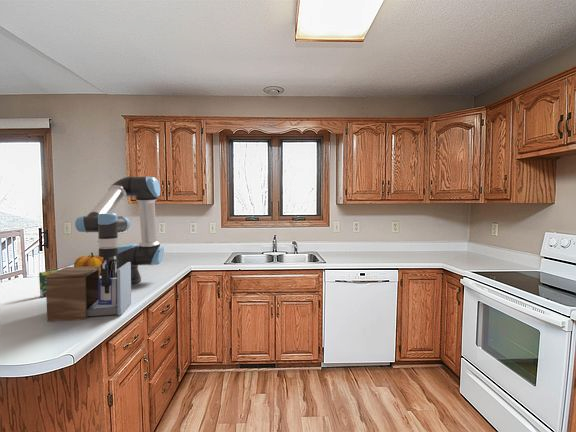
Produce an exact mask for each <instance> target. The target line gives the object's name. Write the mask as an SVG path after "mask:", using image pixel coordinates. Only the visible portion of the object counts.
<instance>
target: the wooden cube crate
mask: <svg viewBox="0 0 576 432" xmlns="http://www.w3.org/2000/svg"><path fill="white" fill-rule="evenodd" d="M58 270H59V271H57V272H54V273H52V274H50V275H48V276H46V297H45V298H46V322H47V323H49V322H51V323H52V322H62V321H63V322H64V321H75V320H77V319H79V320H86V319H87V317H88V316H87V309H88V308H89V307H91V306H92V305H93V304H94V303H95V302H97V301H98V279H100V278H101V274H100V266H90V267H74V266H72V267H70V266H67V267H66V266H65V267H63V268H61V269H58ZM77 321H78V320H77Z"/></svg>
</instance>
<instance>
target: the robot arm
mask: <svg viewBox="0 0 576 432" xmlns="http://www.w3.org/2000/svg"><path fill="white" fill-rule="evenodd" d="M107 189H108V190H107V192H106V193H105V194H104V196H103V197H102V199H100V200H99V202H98V203H97V204H96V205H95V206H94V207H93V209H91V210H90V212H89V213H88V214H87V215H86V216H84V215H83V216H78V217H77V218H76V219H75V223H74V227H75V229H76V230H77V232H80V233H98V235H97V236H98V240H97V243H98V255H99V257H103V261H102V264H101V265H100V267H101V274H100V278H102V285H101V286H104V301H105V300H111V285H110V278H117V269H119V268H120V267H122V266H123V265H124V264H126V263H127V262H131V285H135V284H139V283H140V282H142V276H141V274H140V271H139V266H158V265H160V264H161V263H162V261H163V258H164V254H165V251H164V246H162V245H161V243H160V241H158V235H157V222H156V220H157V219H156V203H155V202H156V201H157V200H158V197H160V195H161V186H160V183H159V181H158V179H157V178H156V177H153V176H125V177H122V178H120V179H118V180H116V181H115V182H114V183H112V184H111V185H110V186H109V187H108V188H107ZM126 197H127V198H128V197H135V201H136V202H138V208H139V222H140V235H141V239H140V240H141V242H140V243H139V244H137V243H130V244H128V243H127V244H124V245H119V238H118V235H119V233H122V232H125V231H127V230H129V228H130V226H131V222H130V219H129V218H128V217H126V216H119V215H118V214H117V213H114V211H113V210H114V209H115V208H116V207H117V206H118V204H119V203H120V202H121V201H122V200H125V199H126ZM112 212H113V213H112ZM114 257H115V258H114Z"/></svg>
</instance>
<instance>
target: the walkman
mask: <svg viewBox="0 0 576 432" xmlns="http://www.w3.org/2000/svg"><path fill="white" fill-rule="evenodd" d="M101 285H102V278H101V277H100V279H98V305H116V304H118V299H117V278H110V285H111V300H105V301H104V286H101Z"/></svg>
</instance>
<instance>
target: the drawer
mask: <svg viewBox="0 0 576 432" xmlns="http://www.w3.org/2000/svg"><path fill="white" fill-rule="evenodd" d="M117 299H118V304H116V305H98V301H97V302H95V303H94V304H93V305H92V306H91V307H87V317H95V316H98V317H99V316H110V315H117V316H122V314H123V313H124V312H125V310H126V309H127V308H128V307H129V306H130V305H131V303H132V284H131V262H127V263H126V264H124V265H123V266H122V267H120V268H119V269H117Z"/></svg>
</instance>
